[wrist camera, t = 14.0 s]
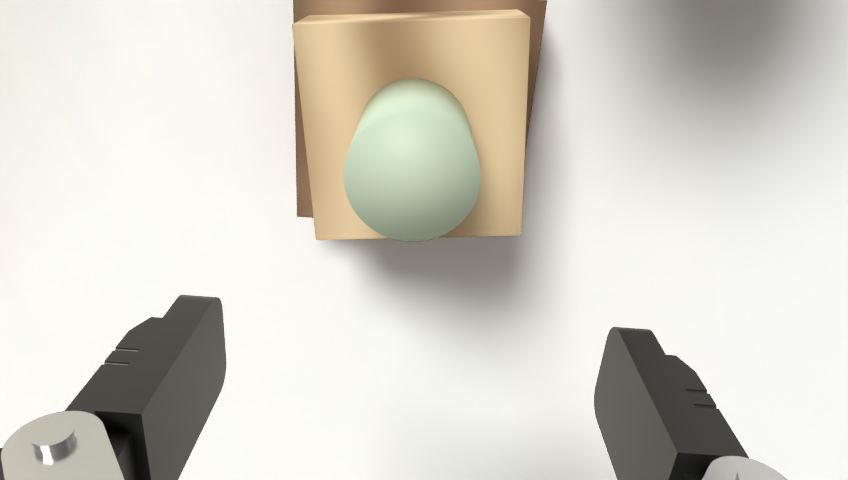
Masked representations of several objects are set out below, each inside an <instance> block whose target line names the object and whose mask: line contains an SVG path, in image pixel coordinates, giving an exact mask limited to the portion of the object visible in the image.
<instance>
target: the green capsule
mask: <svg viewBox="0 0 848 480" xmlns="http://www.w3.org/2000/svg"><path fill="white" fill-rule="evenodd" d="M480 183H481V171H480V164H479V160H478V156H477V153H476V149H475V145H474V141H473V137H472V134H471V130H470V126H469V122H468V119H467V116H466V113H465V111H464V108H463V106H462V105H461V103H460V102H459V100H458V99H457V98H456V97H455V96H454V95H453V94H452V93H451V92H450V91H449V90H448V89H446V88H445V87H443V86H442V85H440V84H438V83H435V82H433V81H430V80H426V79H419V78H408V79H402V80H398V81H395V82H392V83H390V84H388V85H386V86H384V87H383V88H381V89H380V90H379V91H377V92H376V93H375V94H374V95H373V96H372V97H371V99H370V100H369V101H368V103H367V104H366V106H365V108H364V110H363V112H362V115H361V117H360V120H359V123H358V126H357V129H356V132H355V134H354V137H353V140H352V143H351V146H350V149H349V152H348V154H347V158H346V161H345V166H344V187H345V192H346V195H347V198H348V200H349V203H350V205H351V207H352V208H353V210H354V212H355V213H356V214H357V216H358V217H359V218H360V219H361V220H362V221H363V222H364V223H365V224H366V225H367V226H369V227H370V228H371V229H372V230H374V231H376V232H377V233H379V234H381V235H384V236H386V237H388V238H392V239H395V240H400V241H408V242H417V241H425V240H430V239H434V238H437V237H439V236H442V235H444V234H446V233H448V232H449V231H451V230H453V229H454V228H455V227H457V226H458V225H459V224H460V223H461V222H462V221H463V220H464V219H465V218H466V217H467V215H468V214H469V213H470V212H471V210H472V208H473V206H474V205H475V202H476V200H477V197H478V194H479V190H480Z"/></svg>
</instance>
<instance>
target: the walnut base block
mask: <svg viewBox="0 0 848 480" xmlns="http://www.w3.org/2000/svg"><path fill="white" fill-rule="evenodd" d="M546 5H547V0H293V13H294V23H296V22H298V21H299V20H301V19H303V18H305V17H307V16H309V15H342V14H376V13H411V12H445V11H480V10H514V9H518V10H520V11H521V12H523V13H524V14H526V15H527V16H529V17H530V42H529V66H528V89H527V113H526V137H525V150H526V143H527V136H528V129H529V122H530V115H531V109H532V102H533V95H534V88H535V81H536V74H537V67H538V60H539V53H540V46H541V39H542V32H543V26H544V19H545V12H546ZM294 69H295V125H296V182H297V217H312V218H314V216H313V207H312V198H311V189H310V180H309V171H308V163H307V154H306V145H305V136H304V127H303V118H302V109H301V100H300V91H299V82H298V73H297V64H296V56H295V47H294Z"/></svg>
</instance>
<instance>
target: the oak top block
mask: <svg viewBox="0 0 848 480" xmlns="http://www.w3.org/2000/svg"><path fill="white" fill-rule="evenodd" d="M292 29H293V38H294V47H295V56H296V64H297V73H298V82H299V91H300V100H301V109H302V118H303V127H304V136H305V145H306V154H307V163H308V171H309V180H310V189H311V198H312V207H313V216H314V225H315V234H316V240H336V239H381V238H388V237H386V236H384V235H381V234H379V233H377V232H376V231H374V230H372V229H371V228H370V227H369V226H367V225H366V224H365V223H364V222H363V221H362V220H361V219H360V218H359V217H358V216H357V214H356V213H355V212H354V210H353V208H352V207H351V205H350V203H349V200H348V198H347V195H346V192H345V187H344V166H345V161H346V158H347V154H348V152H349V149H350V146H351V143H352V140H353V137H354V134H355V132H356V129H357V126H358V123H359V120H360V117H361V115H362V112H363V110H364V108H365V106H366V104H367V103H368V101H369V100H370V99H371V97H372V96H373V95H374V94H375V93H376V92H377V91H379V90H380V89H381V88H383V87H384V86H386V85H388V84H390V83H392V82H395V81H398V80H402V79H408V78H419V79H426V80H430V81H433V82H435V83H438V84H440V85H442V86H443V87H445V88H446V89H448V90H449V91H450V92H451V93H452V94H453V95H454V96H455V97H456V98H457V99H458V100H459V102H460V103H461V105H462V106H463V108H464V111H465V113H466V116H467V119H468V122H469V126H470V130H471V134H472V137H473V141H474V145H475V149H476V153H477V156H478V160H479V164H480V171H481V183H480V190H479V194H478V197H477V200H476V202H475V205H474V206H473V208H472V210H471V212H470V213H469V214H468V215H467V217H466V218H465V219H464V220H463V221H462V222H461V223H460V224H459V225H458V226H457V227H455V228H454V229H453V230H451V231H449V232H448V233H446V234H444V235H442V236H439V237H472V236H518V235H521V232H522V208H523V184H524V160H525V137H526V113H527V89H528V66H529V42H530V17H529V16H527V15H526V14H524V13H523V12H521V11H520V10H518V9H514V10H480V11H445V12H411V13H376V14H342V15H309V16H307V17H305V18H303V19H301V20H299V21H298V22H296V23H294V24H292Z"/></svg>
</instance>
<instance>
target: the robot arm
mask: <svg viewBox="0 0 848 480" xmlns="http://www.w3.org/2000/svg"><path fill="white" fill-rule="evenodd" d="M225 372H226V352H225V338H224V324H223V311H222V304H221V301H220V299H219V298H217V297H204V296H190V295H180V296H179V297H178V298H177V299H176V301H175V302H174V303H173V305H172V306H171V307H170V309H169V310H168V312H167V313H166V314H165V316H164V317H163V318H156V317H151V318H149V319H147V320H146V321H144V322H143V323H141V324H139V325H138V326H136V327H134V328H133V329H131V330H130V331H129V332H128V333H127V334H126V335H125V337H124V338H123V339H122V340H121V342H120V343H119V344H118V345H117V347H116V350H115V351H112V353H111V354H110V355H109V356H108V358H107V359H106V360H105V364H104V365H101V366H100V368H99V369H98V370H97V371H96V373H95V374H94V375H93V376H92V378H91V379H90V380H89V381H88V383H87V384H86V385H85V386H84V388H83V389H82V390H81V391H80V393H79V394H78V395H77V396H76V398H75V399H74V400H73V401H72V403H71V404H70V405H69V406H68V408H67V409H66V410H65V411H63V412H57V413H53V414H49V415H46V416H43V417H40V418H38V419H36V420H33V421H31V422H29V423H28V424H26V425H24V426H23V427H21V428H20V429H19V430H17V431H16V432H15V433H14V434H13V435H12V436H11V437H10V438H9V439H8V440H7V441H6V443H5V445H4V447H3V448H0V480H178V479H179V476H180V474H181V472H182V470H183V468H184V466H185V464H186V462H187V460H188V458H189V456H190V454H191V452H192V450H193V448H194V446H195V443H196V441H197V439H198V437H199V435H200V433H201V431H202V429H203V427H204V425H205V423H206V421H207V419H208V417H209V415H210V412H211V410H212V408H213V406H214V404H215V402H216V400H217V398H218V396H219V394H220V392H221V389H222V386H223V383H224V378H225ZM594 407H595V415H596V419H597V422H598V425H599V428H600V430H601V433H602V436H603V439H604V442H605V445H606V448H607V451H608V453H609V456H610V459H611V462H612V465H613V468H614V471H615V474H616V477H617V479H618V480H787V479H786V478H785V477H784V476H782V475H781V474H780V473H778V472H777V471H775V470H774V469H772V468H770V467H769V466H767V465H765V464H763V463H760V462H758V461H755V460H752V459H749V457H748V456H747V454H746V452H745V451H744V449H743V448H742V446H741V444H740V443H739V441H738V440H737V438H736V436H735V435H734V433H733V431H732V430H731V428H730V427H729V425H728V423H727V422H726V420H725V419H724V417H723V415H722V414H721V412H720V410H719V409H716V404H715V402H714V401H713V399H712V398H711V396H710V394H707V390H706V388H705V386H704V385H703V383H702V381H701V380H700V378H699V377H698V375H697V373H696V372H695V371H694V370H692V369H691V368H690V367H689V366H688V365H686V364H685V363H684V362H683V361H682V360H680V359H679V358H678V357H677V356H673V355H665V353H664V351H663V349H662V348H661V346H660V344H659V342H658V341H657V339H656V337H655V335H654V334H653V332H652V331H651V330H648V329H634V328H620V327H613V328H612V329H611V330H610V331H609V334H608V337H607V341H606V345H605V349H604V353H603V358H602V362H601V366H600V370H599V374H598V379H597V383H596V387H595V395H594Z"/></svg>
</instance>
